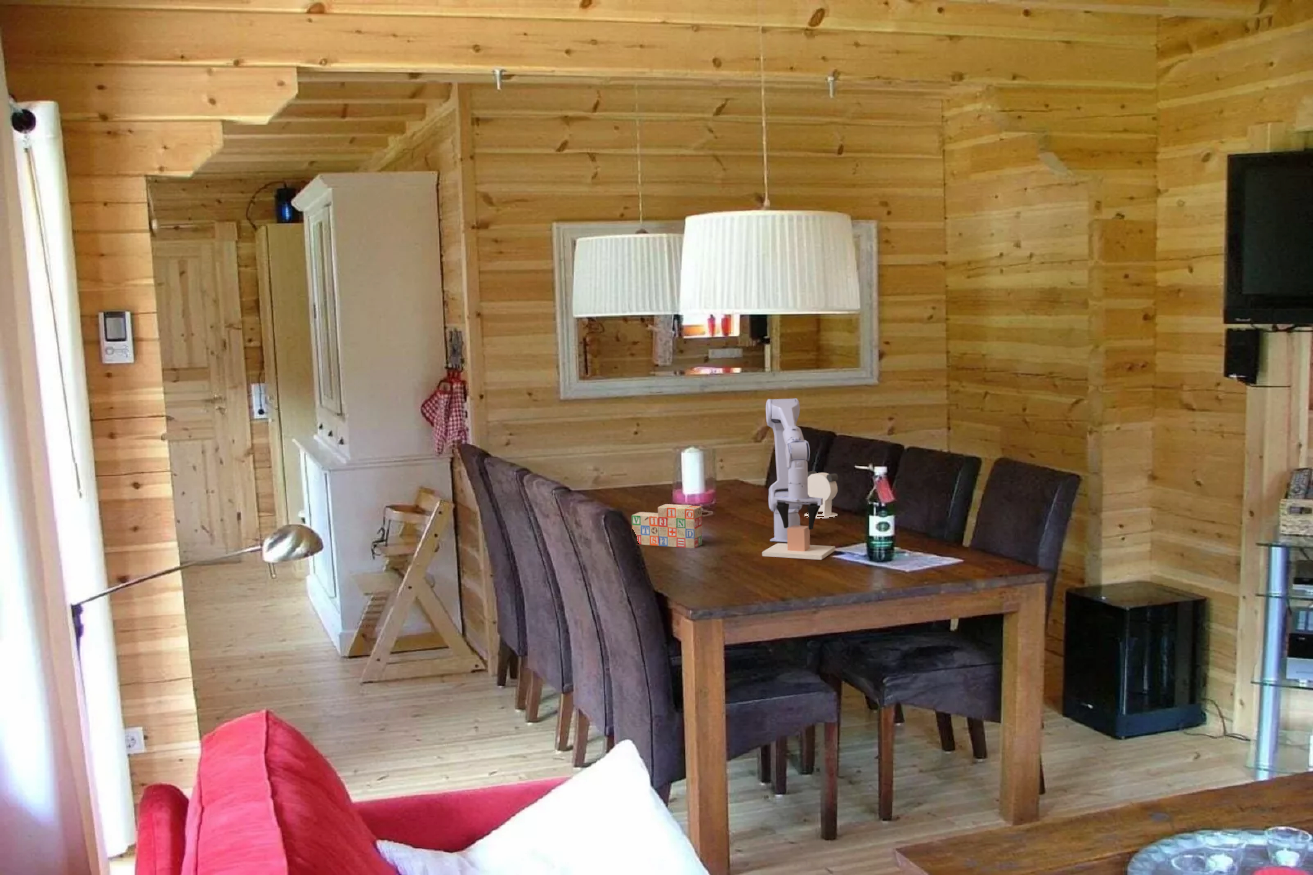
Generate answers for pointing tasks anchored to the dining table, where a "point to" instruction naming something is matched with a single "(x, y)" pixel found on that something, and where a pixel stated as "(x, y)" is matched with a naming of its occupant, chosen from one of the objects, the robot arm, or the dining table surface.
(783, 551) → the post board
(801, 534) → the salmon orange block
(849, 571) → the dining table surface
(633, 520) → the stack of blocks
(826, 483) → the beige rounded figure
